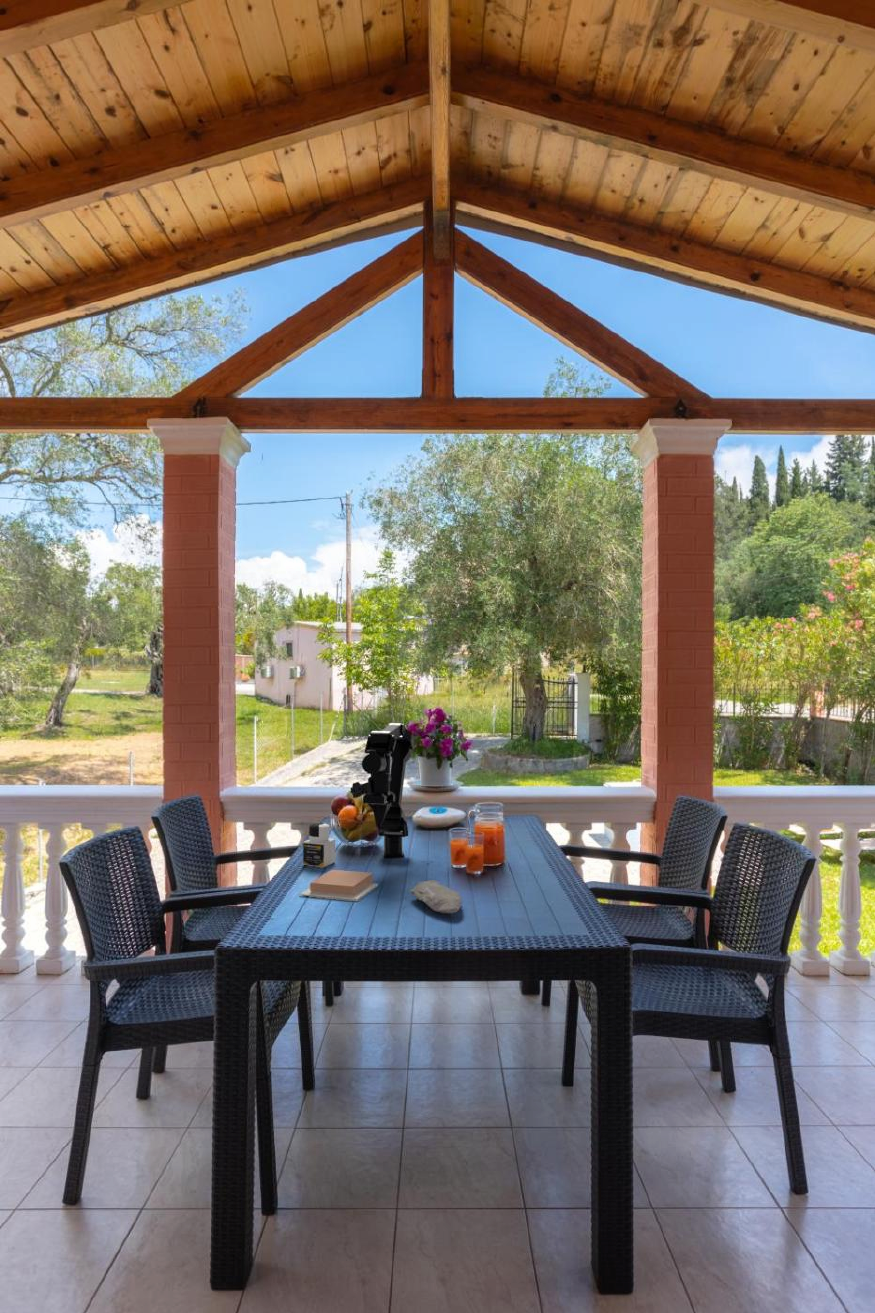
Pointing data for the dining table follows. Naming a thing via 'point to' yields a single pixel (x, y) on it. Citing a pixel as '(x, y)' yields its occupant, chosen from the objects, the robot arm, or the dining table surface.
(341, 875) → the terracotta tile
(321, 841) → the medicine bottle
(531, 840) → the dining table surface
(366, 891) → the cream square plate
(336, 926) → the dining table surface
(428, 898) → the stone tool
